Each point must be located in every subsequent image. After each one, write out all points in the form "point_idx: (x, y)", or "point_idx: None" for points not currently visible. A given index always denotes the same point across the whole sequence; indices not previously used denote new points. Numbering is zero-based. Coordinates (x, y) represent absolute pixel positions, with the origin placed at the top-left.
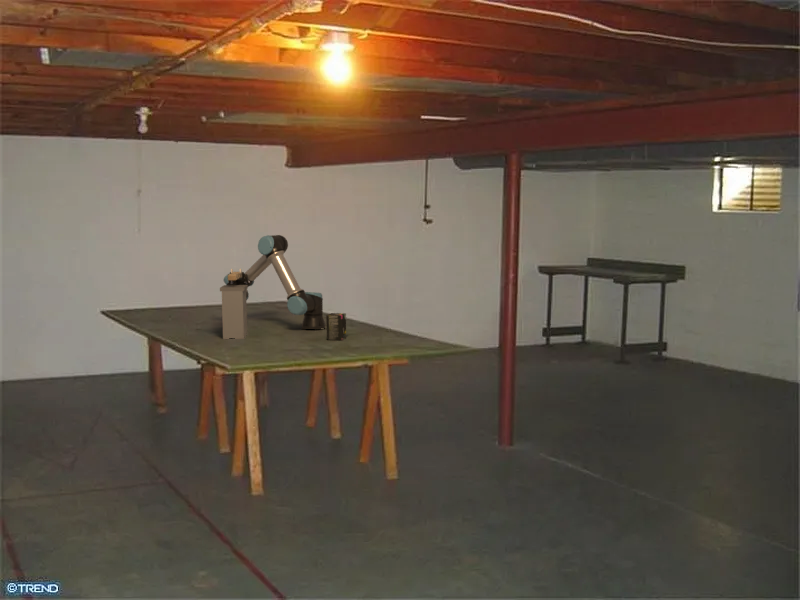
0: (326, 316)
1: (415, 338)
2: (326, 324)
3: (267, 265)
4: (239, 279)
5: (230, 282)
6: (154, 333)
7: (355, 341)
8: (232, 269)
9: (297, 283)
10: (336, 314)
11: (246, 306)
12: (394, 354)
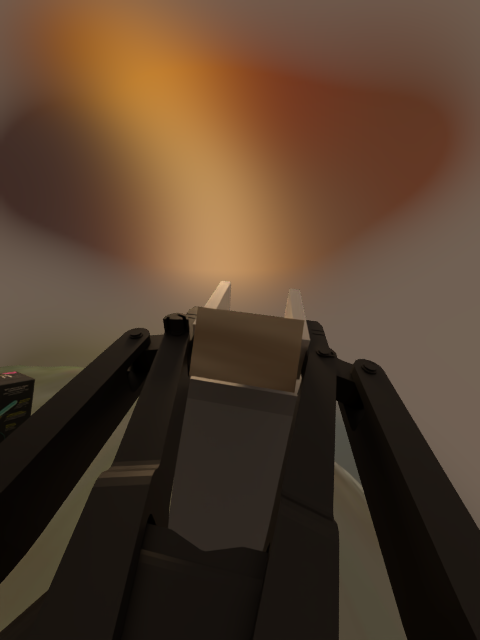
0: (34, 381)
1: None
2: (32, 399)
3: None
4: (184, 542)
5: (403, 608)
6: None
7: None
8: (290, 294)
9: None
10: (8, 376)
11: (172, 498)
12: (77, 367)
